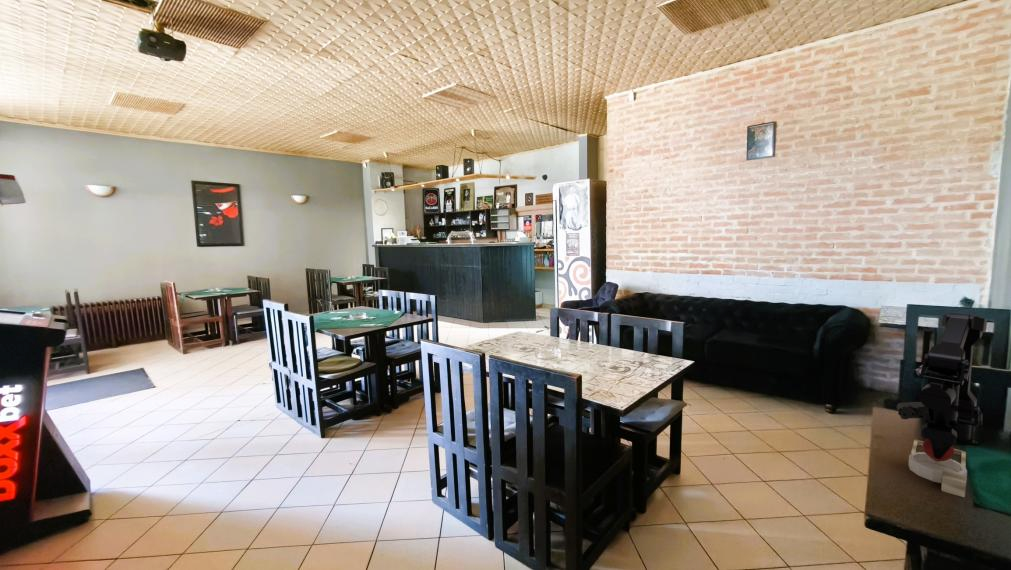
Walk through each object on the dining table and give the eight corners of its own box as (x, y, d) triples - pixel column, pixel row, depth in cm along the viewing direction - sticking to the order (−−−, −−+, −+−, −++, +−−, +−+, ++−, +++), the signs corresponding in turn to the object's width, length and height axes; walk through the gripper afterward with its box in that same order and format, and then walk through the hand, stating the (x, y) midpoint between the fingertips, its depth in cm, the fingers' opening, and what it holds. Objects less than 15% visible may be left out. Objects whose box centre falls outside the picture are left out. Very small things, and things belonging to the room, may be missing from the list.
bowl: (941, 462, 117) (941, 452, 117) (977, 485, 107) (978, 474, 106) (898, 461, 119) (899, 451, 118) (931, 484, 108) (931, 473, 108)
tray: (914, 442, 128) (914, 439, 127) (965, 455, 120) (965, 451, 120) (910, 456, 121) (911, 452, 120) (965, 470, 113) (965, 466, 113)
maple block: (941, 484, 108) (942, 469, 108) (964, 490, 105) (965, 475, 105) (941, 491, 105) (942, 476, 105) (964, 497, 103) (966, 482, 102)
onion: (959, 468, 109) (961, 439, 108) (933, 466, 110) (935, 438, 109) (941, 455, 114) (943, 428, 113) (916, 455, 116) (918, 428, 115)
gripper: (904, 381, 122) (900, 431, 124) (896, 401, 110) (893, 456, 112) (960, 390, 114) (955, 444, 116) (959, 413, 101) (953, 473, 103)
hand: (937, 453), depth 112 cm, fingers closed on onion, 6 cm apart
